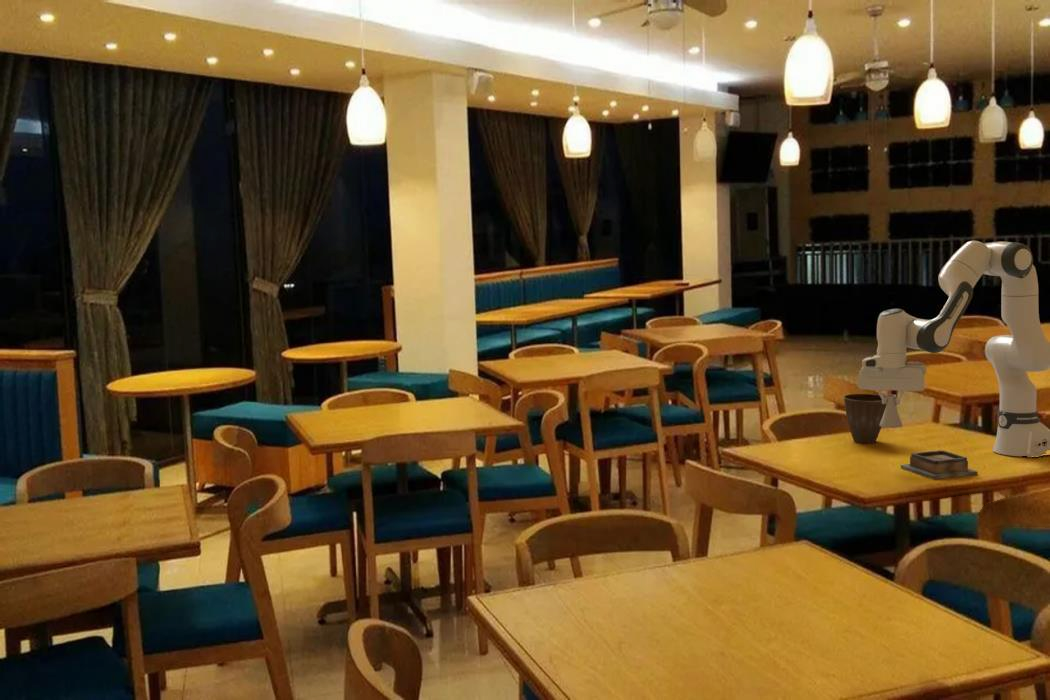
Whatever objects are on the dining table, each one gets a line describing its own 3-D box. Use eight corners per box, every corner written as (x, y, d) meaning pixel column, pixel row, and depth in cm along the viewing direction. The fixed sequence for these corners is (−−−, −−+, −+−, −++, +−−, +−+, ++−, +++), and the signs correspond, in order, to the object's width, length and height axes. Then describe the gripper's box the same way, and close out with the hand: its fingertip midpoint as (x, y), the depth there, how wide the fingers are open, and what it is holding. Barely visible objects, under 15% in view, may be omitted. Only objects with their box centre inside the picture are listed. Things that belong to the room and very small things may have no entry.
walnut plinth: (943, 463, 340) (943, 448, 339) (977, 474, 324) (978, 458, 324) (900, 468, 335) (900, 452, 335) (933, 479, 320) (933, 463, 319)
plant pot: (882, 437, 381) (883, 393, 379) (891, 446, 367) (892, 400, 365) (840, 437, 383) (840, 393, 381) (846, 445, 369) (847, 400, 367)
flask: (899, 423, 339) (899, 393, 337) (905, 428, 332) (905, 397, 330) (876, 424, 340) (876, 393, 338) (881, 428, 332) (882, 397, 331)
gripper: (927, 360, 331) (926, 403, 333) (859, 358, 340) (859, 400, 341) (925, 362, 326) (925, 406, 327) (857, 361, 334) (856, 404, 336)
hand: (891, 403), depth 335 cm, fingers closed on flask, 3 cm apart
